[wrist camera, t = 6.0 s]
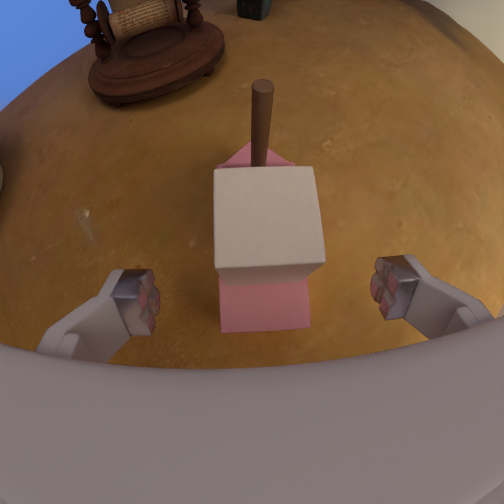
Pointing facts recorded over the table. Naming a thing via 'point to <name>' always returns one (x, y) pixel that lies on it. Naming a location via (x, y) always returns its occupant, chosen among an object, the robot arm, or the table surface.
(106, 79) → the scroll
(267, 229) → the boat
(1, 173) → the planter bowl
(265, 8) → the ceramic cat
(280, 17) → the table surface
